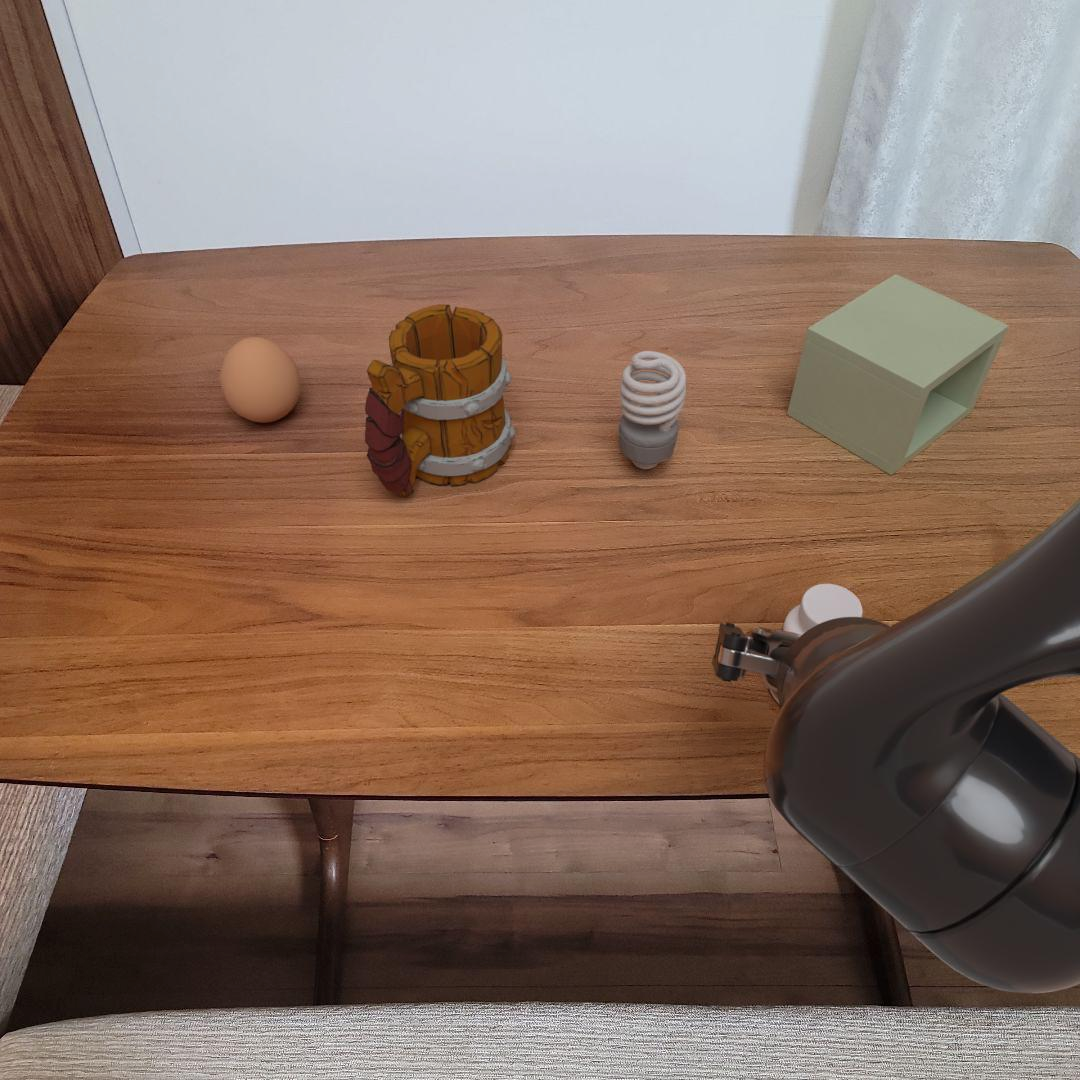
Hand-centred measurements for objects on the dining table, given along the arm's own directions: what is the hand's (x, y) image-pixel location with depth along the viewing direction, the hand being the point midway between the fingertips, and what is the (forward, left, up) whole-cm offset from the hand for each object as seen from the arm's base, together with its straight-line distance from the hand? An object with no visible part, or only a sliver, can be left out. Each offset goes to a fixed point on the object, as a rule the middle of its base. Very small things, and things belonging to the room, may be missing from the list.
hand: (827, 658), depth 59 cm
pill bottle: (+2, -4, -10) cm, 11 cm away
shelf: (+17, -36, -10) cm, 41 cm away
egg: (+57, +9, -10) cm, 59 cm away
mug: (+40, +1, -10) cm, 42 cm away
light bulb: (+27, -13, -10) cm, 32 cm away
